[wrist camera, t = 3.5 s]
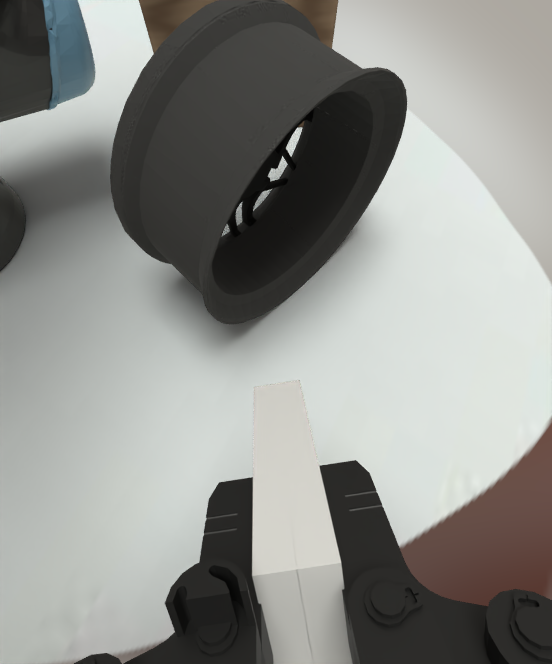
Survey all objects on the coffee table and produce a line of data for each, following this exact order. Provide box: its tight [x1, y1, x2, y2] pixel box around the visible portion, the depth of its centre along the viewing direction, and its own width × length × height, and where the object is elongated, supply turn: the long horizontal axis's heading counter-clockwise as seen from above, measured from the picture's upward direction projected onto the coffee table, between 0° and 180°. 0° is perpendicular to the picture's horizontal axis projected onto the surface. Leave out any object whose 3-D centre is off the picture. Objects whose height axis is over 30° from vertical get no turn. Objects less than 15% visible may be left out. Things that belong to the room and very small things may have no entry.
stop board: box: [139, 0, 338, 127], centre depth 39 cm, size 18×7×14 cm, turn 95°
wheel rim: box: [110, 0, 407, 324], centre depth 29 cm, size 20×9×20 cm, turn 135°
